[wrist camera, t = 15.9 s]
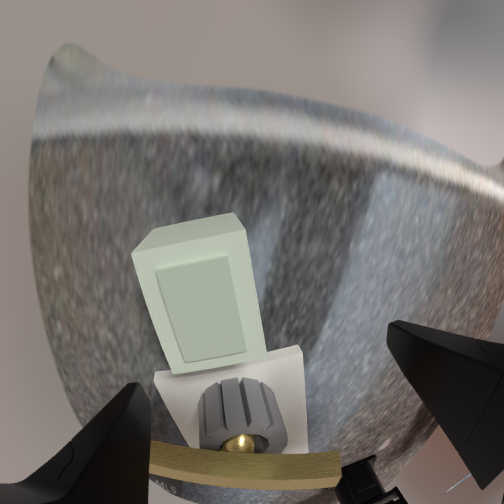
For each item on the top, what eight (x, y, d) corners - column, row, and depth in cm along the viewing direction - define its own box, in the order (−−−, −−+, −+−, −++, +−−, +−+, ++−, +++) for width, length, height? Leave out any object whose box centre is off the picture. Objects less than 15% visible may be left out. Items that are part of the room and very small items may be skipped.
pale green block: (251, 309, 17) (268, 360, 12) (179, 322, 17) (172, 377, 12) (233, 212, 15) (246, 230, 10) (153, 228, 15) (129, 255, 10)
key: (332, 394, 16) (341, 476, 11) (328, 410, 17) (335, 486, 11) (161, 388, 18) (131, 459, 12) (168, 404, 19) (143, 471, 13)
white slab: (306, 461, 23) (319, 496, 19) (215, 479, 22) (219, 516, 18) (298, 344, 18) (323, 392, 13) (155, 371, 17) (145, 425, 12)
